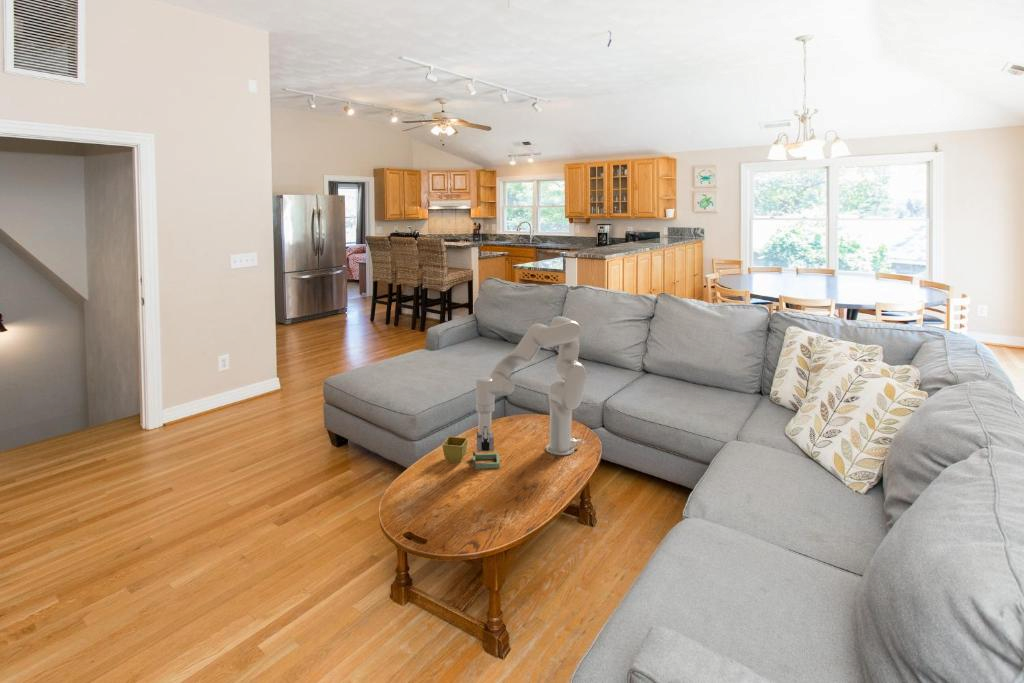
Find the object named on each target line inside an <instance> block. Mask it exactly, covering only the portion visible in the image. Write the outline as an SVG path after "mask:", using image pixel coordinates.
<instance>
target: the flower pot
mask: <svg viewBox="0 0 1024 683" xmlns="http://www.w3.org/2000/svg"><path fill="white" fill-rule="evenodd" d="M467 447H468V438H467V437H460V436H459V437H457V436H448V437H447V438H446V439H445V441H444V442H443V443H442V451H443V455H444V458H445V460H446V461H447V462H448V463H451V464H453V463H454V464H461V463H462V460H463V459H464V457H465V455H466V451H467V449H468V448H467Z"/></svg>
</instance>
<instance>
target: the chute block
mask: <svg viewBox="0 0 1024 683" xmlns="http://www.w3.org/2000/svg"><path fill="white" fill-rule="evenodd" d="M487 434H488V433H487ZM483 435H484V433H483ZM494 436H495V435H494V432H491V433H490V435H489V451H488V452H494V451H495V444H494V442H495V437H494ZM483 438H484V436H483ZM476 452H477V453H478V452H483V451H482V435H480V436H479V431H476Z"/></svg>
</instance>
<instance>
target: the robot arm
mask: <svg viewBox="0 0 1024 683" xmlns="http://www.w3.org/2000/svg"><path fill="white" fill-rule="evenodd" d="M581 334H582V327H581V325H580V324H579V323H578V322H577V321H575V320H572V319H570V318H568V317H565V316H563V315H562V316H560V315H557V316H555V317H553V318H552V319H551V322H550V326H547V325H545V324H542V323H534V324H532V325H531V326H530V327H529V329H528V330H527V331H526V332H525V333H524V336H523V337H522V338H521V340H520V341H519V343H518V344H517V345H516V347H515V348H514V349H513V351H512V352H510V353H509V354H507V355H506V356H505V357H503V358H502V359H501V360H500V361H499V362H498V363H497V364H496V366H495V367H494V369H493V370H492V372H491V373H490V375H489V376H480V377H478V378H477V379H476V381H475V391H476V392H475V400H476V402H475V409H476V410H475V411H476V412H477V413H478V418H477V419H478V421H477V422H478V427H477V428H478V432H479V436H480V435H482V451H481V452H490V451H489V435H490V433H492V431H491V430H492V413H493V412H495V396H509V395H511V394H513V392H514V390H515V386H516V385H515V383H514V381H513V380H512V379H511V378H510V377H509V376H510V375H511V374H512V372H513V371H515V370H516V369H517V368H518V367H521V366H525V365H528V364H530V363H531V362H532V361H533V359H534V358H535V356H537V353H538V352H539V351H540V349H541V348H545V349H546V348H552V347H558V346H559V348H558V355H557V360H556V365H555V373H556V376H558V377H559V378H560V379H562V380H555V381H553V382H552V383H551V384H550V386H549V389H548V401H549V443H548V444H546V446H545V450H546V452H547V453H548V454H551V455H555V456H568V455H571V454H573V453H574V451H575V447H574V446H575V445H579V444H581V439H575V438H572V418H573V417H572V415H573V410H575V409H577V408H578V407H579V406H580V405H581V402H582V400H583V396H584V391H585V387H586V382H587V381H586V380H587V370H586V367H585V366H584V365H583V364H582V363H581V362H579V361H578V359H579V352H580V339H579V337H580V336H581ZM483 433H484V435H483ZM487 433H488V434H487ZM483 436H484V438H483Z"/></svg>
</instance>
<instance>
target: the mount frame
mask: <svg viewBox="0 0 1024 683" xmlns="http://www.w3.org/2000/svg"><path fill="white" fill-rule="evenodd" d="M492 459H494V460H495V459H496V461H495V462H476V460H492ZM499 468H501V467H500V454H499V453H498V452H496V453H493V452H492V453H476V451H472V469H475V470H476V469H499Z"/></svg>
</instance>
